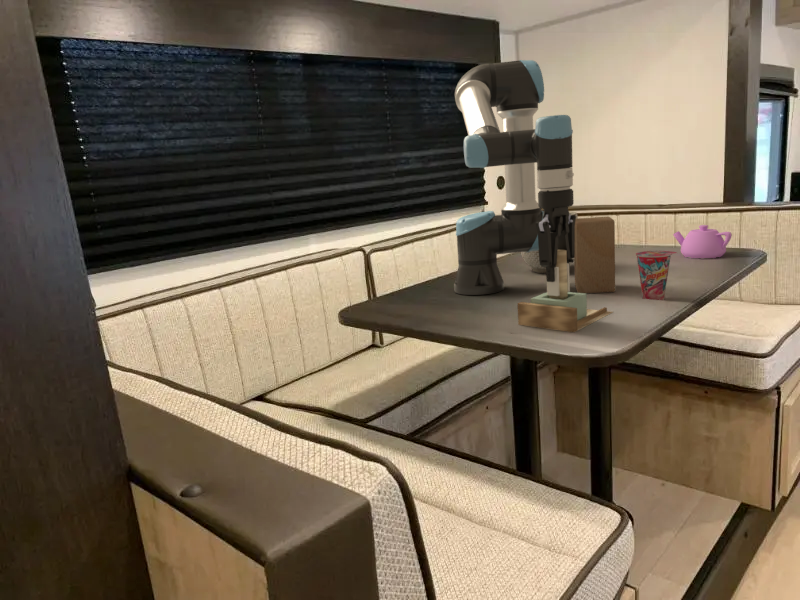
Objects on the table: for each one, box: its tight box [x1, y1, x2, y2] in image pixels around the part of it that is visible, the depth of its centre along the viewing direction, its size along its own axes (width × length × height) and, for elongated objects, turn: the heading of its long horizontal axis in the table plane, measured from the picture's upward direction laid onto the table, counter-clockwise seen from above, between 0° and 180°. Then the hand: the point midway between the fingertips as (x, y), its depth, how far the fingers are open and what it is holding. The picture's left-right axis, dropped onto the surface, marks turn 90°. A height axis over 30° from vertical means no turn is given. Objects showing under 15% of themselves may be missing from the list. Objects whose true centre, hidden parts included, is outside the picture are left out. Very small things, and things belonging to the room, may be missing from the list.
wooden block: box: [573, 216, 616, 294], centre depth 167 cm, size 10×10×20 cm
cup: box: [635, 250, 678, 301], centre depth 151 cm, size 9×8×12 cm
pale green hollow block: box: [530, 291, 588, 321], centre depth 136 cm, size 9×9×6 cm
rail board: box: [517, 301, 614, 333], centre depth 138 cm, size 14×19×6 cm
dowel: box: [550, 250, 568, 300], centre depth 135 cm, size 4×4×14 cm
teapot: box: [672, 224, 732, 259], centre depth 203 cm, size 14×20×11 cm
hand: (558, 293), depth 135 cm, fingers closed on dowel, 4 cm apart
